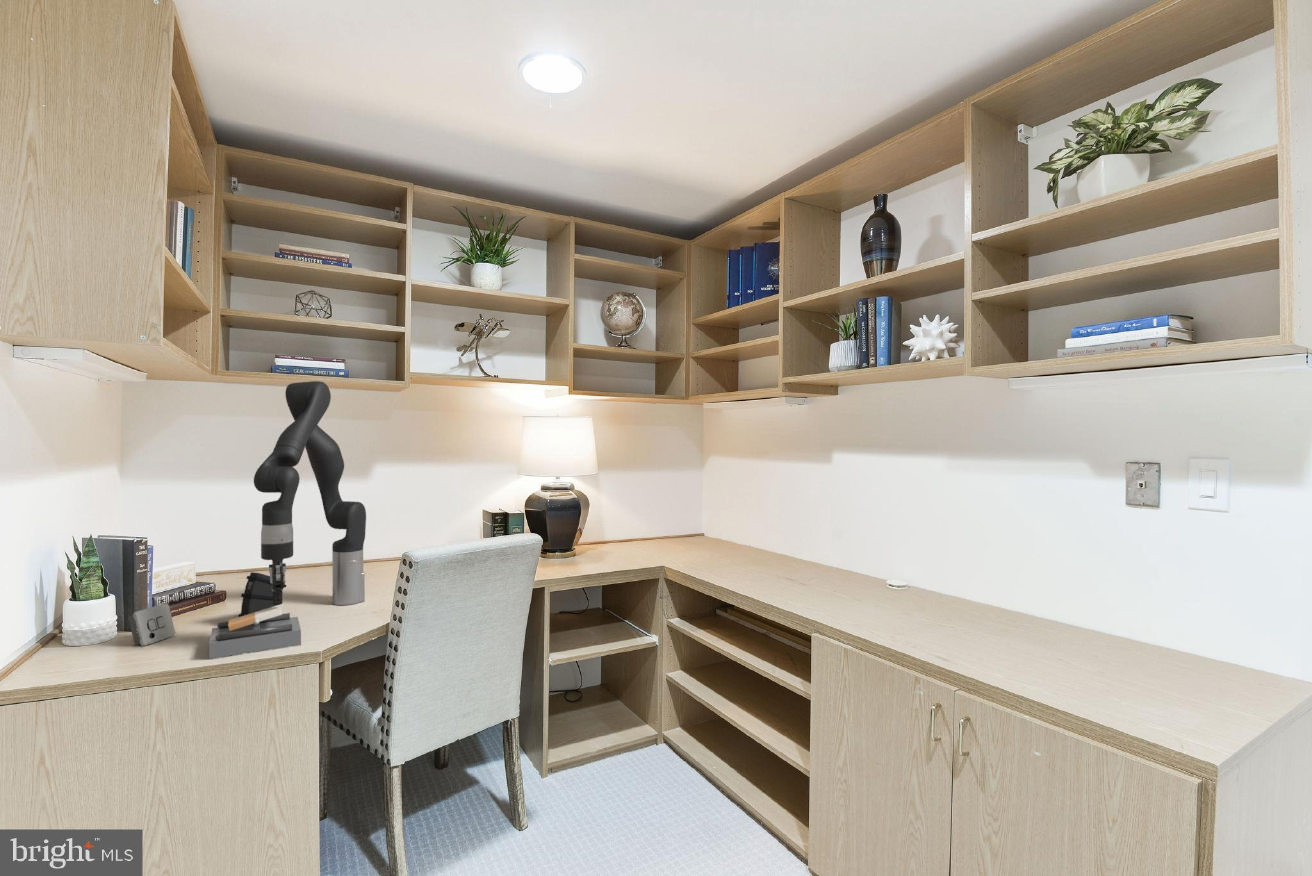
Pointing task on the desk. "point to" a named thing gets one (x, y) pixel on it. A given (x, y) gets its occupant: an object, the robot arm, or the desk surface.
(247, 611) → the magazine
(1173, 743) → the desk surface
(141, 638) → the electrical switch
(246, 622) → the breaker rocker
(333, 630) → the desk surface
